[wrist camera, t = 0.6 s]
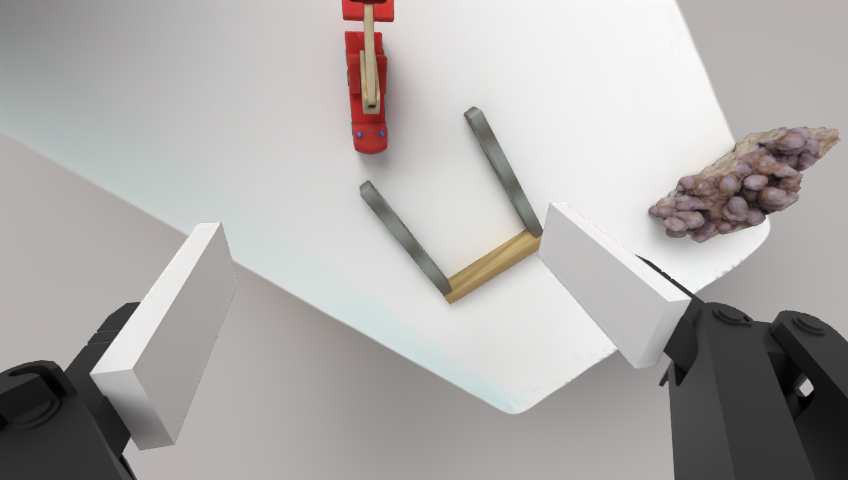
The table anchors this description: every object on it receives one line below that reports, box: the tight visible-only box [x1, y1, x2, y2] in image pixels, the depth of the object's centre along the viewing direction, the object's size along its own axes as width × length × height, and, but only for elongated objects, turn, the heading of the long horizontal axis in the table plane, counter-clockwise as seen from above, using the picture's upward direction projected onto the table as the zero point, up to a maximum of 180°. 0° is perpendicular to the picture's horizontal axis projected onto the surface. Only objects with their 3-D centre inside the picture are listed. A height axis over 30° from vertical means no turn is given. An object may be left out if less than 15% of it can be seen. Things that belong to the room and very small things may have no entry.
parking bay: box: [360, 107, 543, 304], centre depth 40 cm, size 18×14×3 cm
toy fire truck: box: [342, 0, 394, 155], centre depth 29 cm, size 3×14×10 cm, turn 179°
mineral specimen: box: [649, 127, 840, 243], centre depth 43 cm, size 20×10×10 cm
